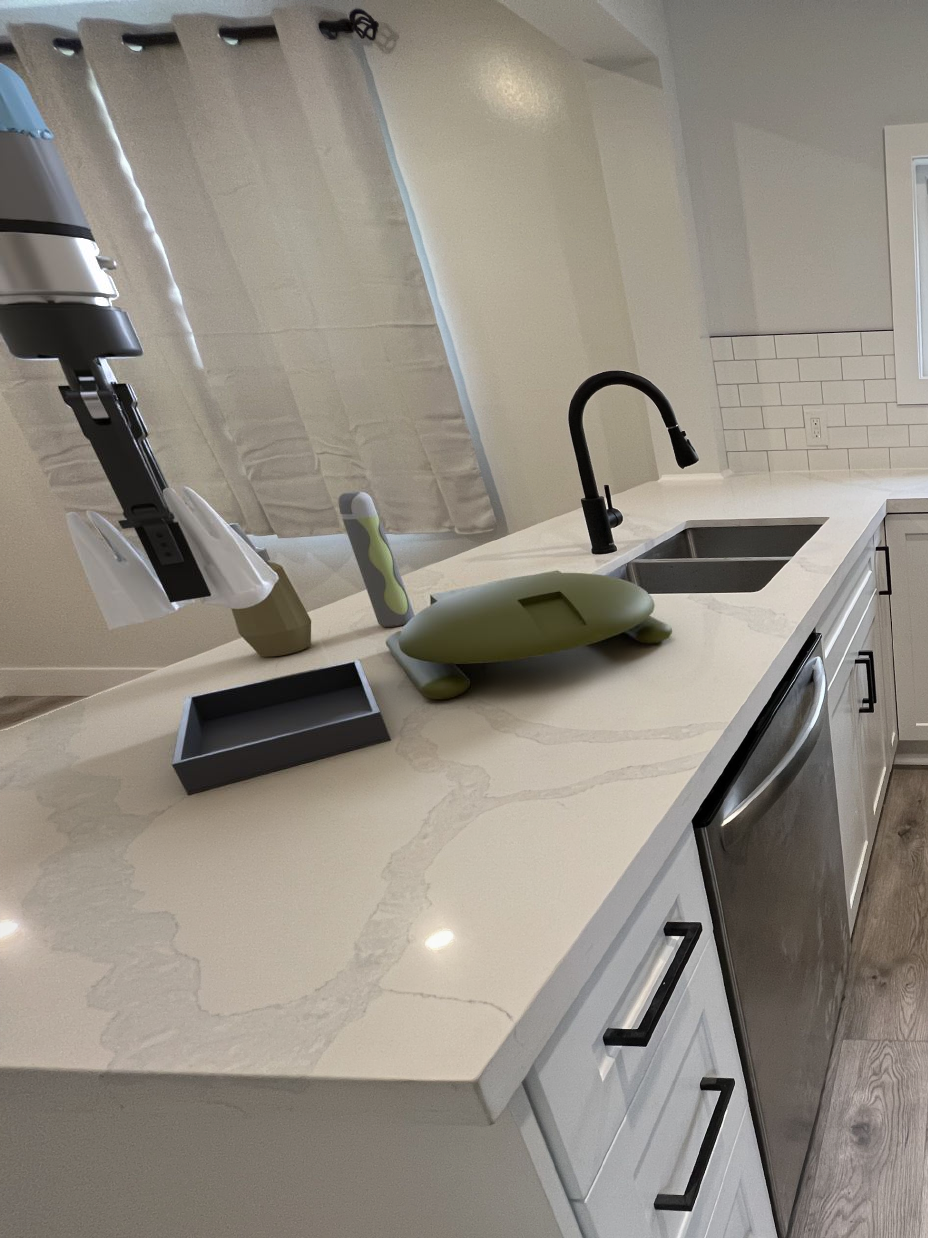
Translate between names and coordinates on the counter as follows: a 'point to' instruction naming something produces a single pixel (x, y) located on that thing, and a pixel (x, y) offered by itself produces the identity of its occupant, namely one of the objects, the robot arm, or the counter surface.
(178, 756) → the dark grey tray
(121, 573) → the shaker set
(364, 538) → the grey and green bar
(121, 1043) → the counter surface
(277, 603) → the squeeze bottle
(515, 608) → the spaceship
